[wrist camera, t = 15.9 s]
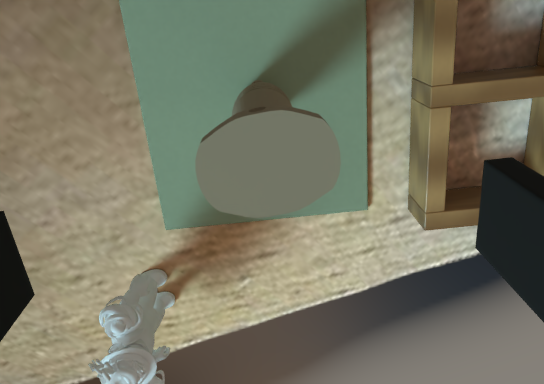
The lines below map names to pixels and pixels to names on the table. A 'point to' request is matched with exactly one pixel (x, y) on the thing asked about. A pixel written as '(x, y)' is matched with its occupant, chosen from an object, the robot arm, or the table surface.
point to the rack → (437, 113)
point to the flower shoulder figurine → (135, 332)
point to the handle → (267, 156)
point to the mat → (237, 76)
